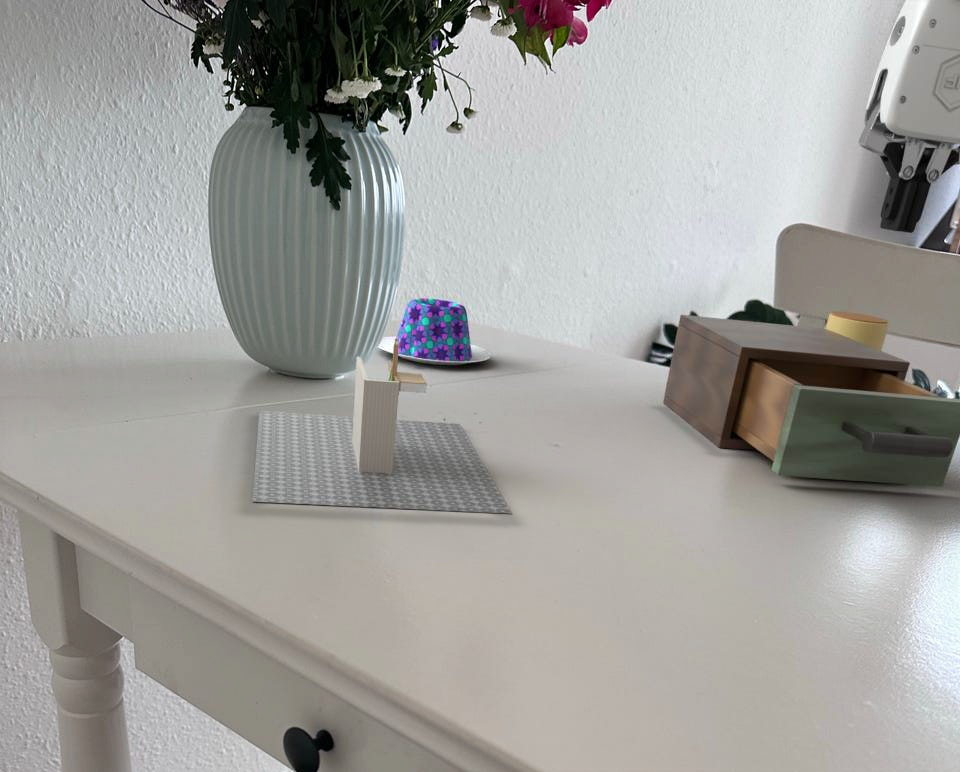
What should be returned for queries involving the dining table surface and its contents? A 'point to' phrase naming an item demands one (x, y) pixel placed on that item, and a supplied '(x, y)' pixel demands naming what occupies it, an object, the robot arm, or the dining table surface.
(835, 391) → the drawer
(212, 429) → the dining table surface
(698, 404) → the cabinet
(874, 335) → the biscuit roll
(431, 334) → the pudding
